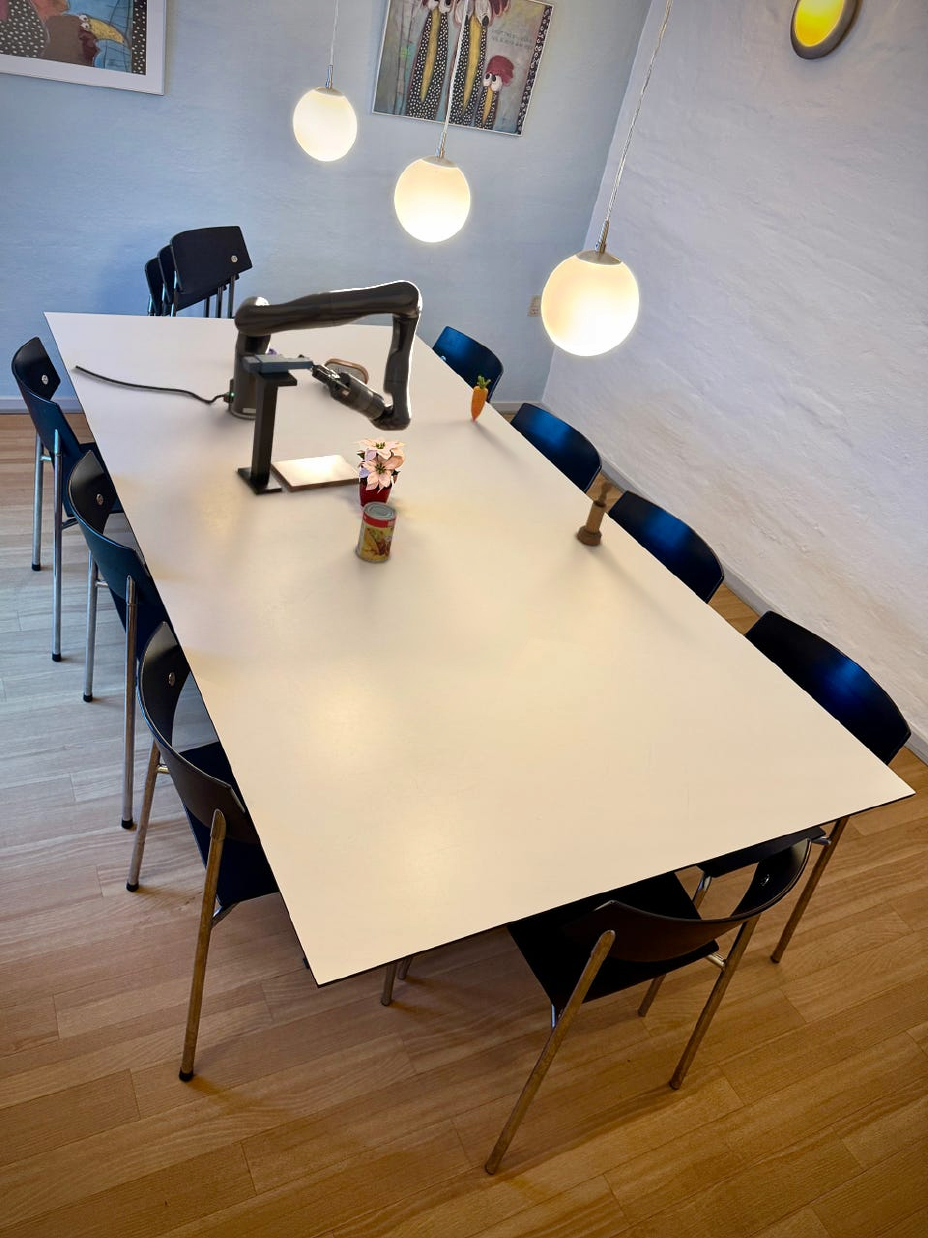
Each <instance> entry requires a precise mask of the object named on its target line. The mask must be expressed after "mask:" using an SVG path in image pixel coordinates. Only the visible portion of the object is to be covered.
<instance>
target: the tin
mask: <svg viewBox="0 0 928 1238" xmlns="http://www.w3.org/2000/svg"><path fill="white" fill-rule="evenodd" d="M323 366H324V367H326V368H327V369H329V370H332V371H333V372H335V373H336V374H335V375H337V374H339V373H341V372H347V373H348V374H350V375H352V376H353V377H355V378H356V379H358V380H359V381H361V382H362V383H364V384H365V385H367V384H368V382H369V380H370V375H369V373H368V370H367V369H366V368H365V367H364V366H363V365H361V364H358V363H355V362H350V361H346V360H343V359H340V358H330V359H328V360H326V362H325V363H324V365H323Z"/></svg>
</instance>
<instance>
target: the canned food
mask: <svg viewBox="0 0 928 1238" xmlns="http://www.w3.org/2000/svg"><path fill="white" fill-rule="evenodd" d="M397 515H398V511H397V510H396V508H395V507H393V506H392V505H390V504H388V503H386V502H381V501H372V502H368V503H366V504H365V505H364V506H363V509H362V517H361V522H360V528H359V535H358V540H357V546H356V553H357V555H358V556H359V557H360V558H361V559H363V560H365V561H368V562H372V563H382V562H385V561H386V560H388V558H389V557H390V553H391V552H390V551H391V547H392V541H393V537H394V531H395V526H396V521H397Z"/></svg>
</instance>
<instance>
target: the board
mask: <svg viewBox="0 0 928 1238" xmlns="http://www.w3.org/2000/svg"><path fill="white" fill-rule="evenodd" d="M270 470H272V472H274V473H275V475H276V476H277V477H278V478H279V479H280V480H281V482H283V484H284V485H285V486H286V487H287V488H288V489H289V491H290V492H298V491H307V490H315V489H323V488H331V487H337V486H345V485H354V484H360V483H359V475H360V473H358V471H356V470H355V468H353V466H351V465H350V464H349V462H347V461H346V460H345V459H344V458H343V456H341V455H340V454H337V455H336V454H335V455H327V456H319V457H308V458H298V459H289V460H281V461H271V467H270Z"/></svg>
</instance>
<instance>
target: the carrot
mask: <svg viewBox="0 0 928 1238" xmlns="http://www.w3.org/2000/svg"><path fill="white" fill-rule="evenodd" d="M477 380H478V382H477V383H476V384H477V385H476V386H475V387H474V388H473V390H472V391H473V392H472V396H471V402H470V413H471V418H472V420H473V421H475V420H477V419H478V418H479V417H480V415H481V413H482V411H483V409H484V407H485V404H486V402H487V397H488V393H489V390H488V389H487V388H486V387H487V385H488V384H489V383H490V382H491V379H488V380H486V381H485V378H484V377H482V376H481V375H479V376H478V377H477Z"/></svg>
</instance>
